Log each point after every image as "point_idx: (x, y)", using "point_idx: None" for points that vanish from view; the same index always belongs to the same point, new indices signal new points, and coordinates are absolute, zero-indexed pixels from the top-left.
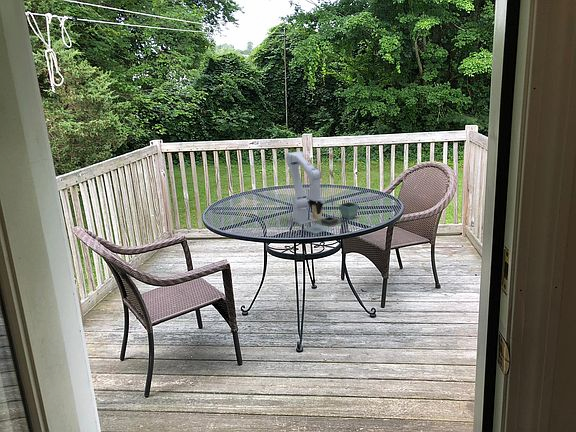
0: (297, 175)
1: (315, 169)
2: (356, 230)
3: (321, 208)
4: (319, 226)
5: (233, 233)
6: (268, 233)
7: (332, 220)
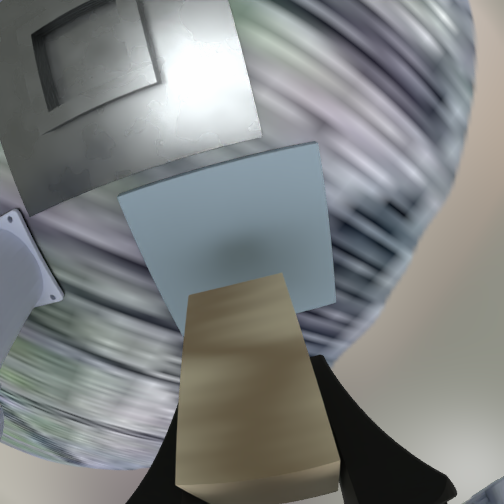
0: None
1: None
2: (447, 12)
3: (366, 414)
4: (187, 208)
5: (123, 467)
6: (164, 434)
7: (142, 33)
